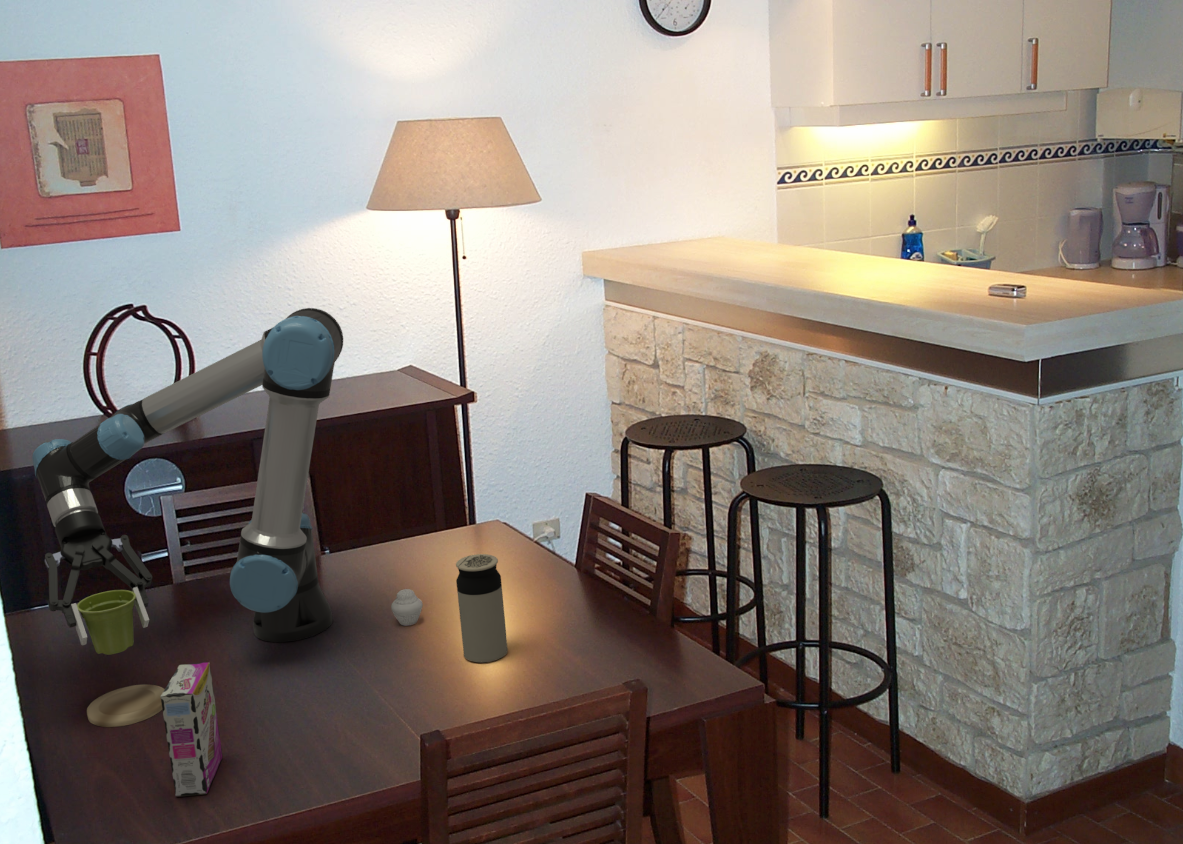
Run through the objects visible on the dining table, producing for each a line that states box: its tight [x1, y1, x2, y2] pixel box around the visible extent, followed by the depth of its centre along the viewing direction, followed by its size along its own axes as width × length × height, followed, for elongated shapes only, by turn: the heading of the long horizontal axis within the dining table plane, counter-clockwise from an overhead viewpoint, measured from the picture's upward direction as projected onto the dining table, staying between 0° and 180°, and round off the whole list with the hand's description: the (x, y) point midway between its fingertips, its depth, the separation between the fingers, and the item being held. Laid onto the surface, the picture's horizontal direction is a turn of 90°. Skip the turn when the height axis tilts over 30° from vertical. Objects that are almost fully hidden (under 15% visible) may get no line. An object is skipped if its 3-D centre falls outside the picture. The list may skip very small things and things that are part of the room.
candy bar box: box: [160, 661, 223, 798], centre depth 179 cm, size 11×5×16 cm, turn 5°
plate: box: [86, 684, 165, 728], centre depth 205 cm, size 13×13×1 cm
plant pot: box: [76, 589, 136, 656], centre depth 202 cm, size 9×9×9 cm
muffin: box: [390, 588, 424, 627], centre depth 233 cm, size 6×6×7 cm
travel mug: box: [455, 553, 509, 663], centre depth 215 cm, size 8×8×18 cm
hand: (115, 632), depth 199 cm, fingers closed on plant pot, 9 cm apart
